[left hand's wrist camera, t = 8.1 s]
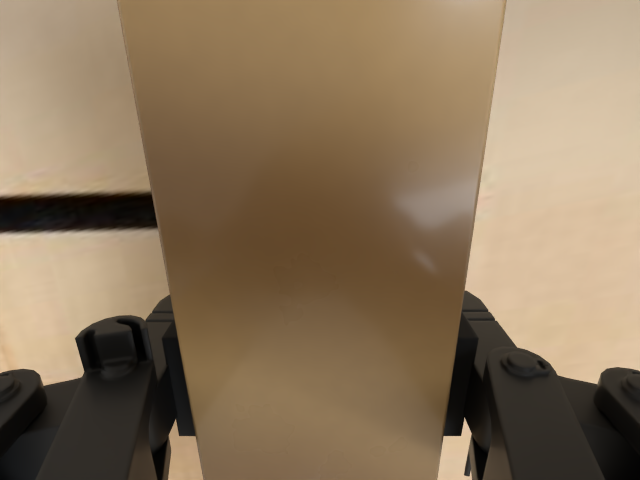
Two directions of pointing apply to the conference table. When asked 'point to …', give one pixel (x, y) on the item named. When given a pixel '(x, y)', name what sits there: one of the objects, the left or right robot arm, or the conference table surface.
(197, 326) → the bar
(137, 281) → the conference table surface
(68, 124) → the conference table surface
